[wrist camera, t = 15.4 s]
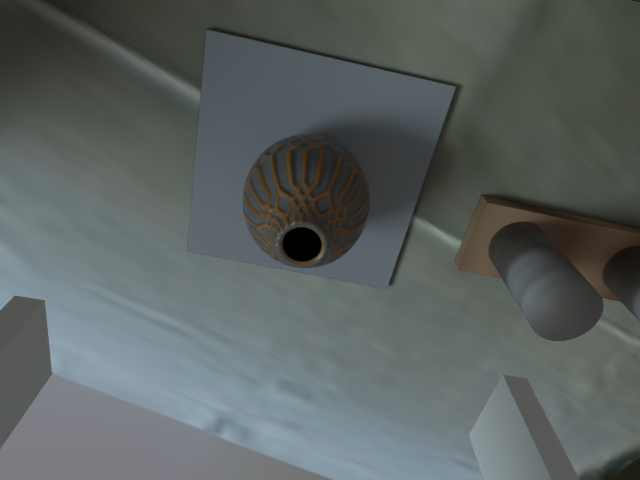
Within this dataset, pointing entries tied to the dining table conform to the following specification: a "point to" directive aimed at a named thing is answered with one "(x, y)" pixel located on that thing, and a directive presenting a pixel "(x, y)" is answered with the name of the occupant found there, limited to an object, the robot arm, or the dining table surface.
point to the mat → (318, 119)
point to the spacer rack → (554, 263)
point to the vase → (306, 201)
